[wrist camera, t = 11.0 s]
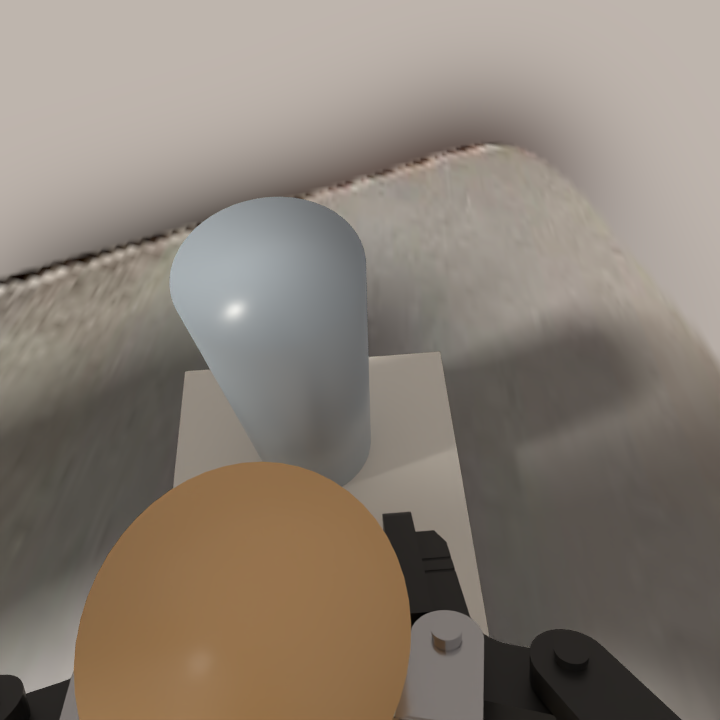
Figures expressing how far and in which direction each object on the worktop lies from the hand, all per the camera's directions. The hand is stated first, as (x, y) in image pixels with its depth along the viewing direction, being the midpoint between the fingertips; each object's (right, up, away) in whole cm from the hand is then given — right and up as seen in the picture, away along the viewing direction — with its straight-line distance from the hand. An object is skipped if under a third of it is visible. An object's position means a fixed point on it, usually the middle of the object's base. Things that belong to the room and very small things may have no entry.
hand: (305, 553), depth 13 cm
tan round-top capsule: (0, -4, +4) cm, 6 cm away
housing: (0, -2, +7) cm, 7 cm away
